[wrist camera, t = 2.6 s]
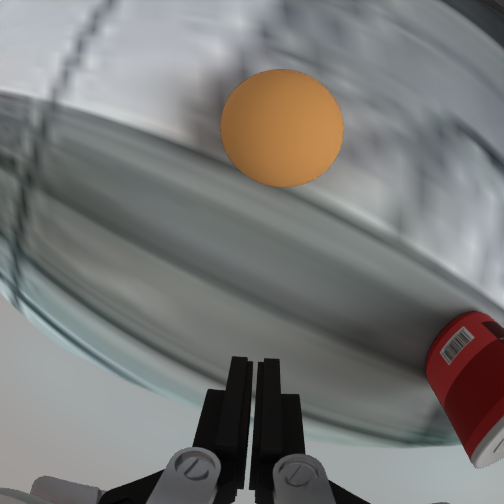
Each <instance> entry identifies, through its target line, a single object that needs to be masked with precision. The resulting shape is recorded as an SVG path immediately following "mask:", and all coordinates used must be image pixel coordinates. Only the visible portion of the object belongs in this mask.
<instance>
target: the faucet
mask: <svg viewBox="0 0 504 504" xmlns="http://www.w3.org/2000/svg"><path fill="white" fill-rule="evenodd" d="M481 1H483V2H485V3H487V4H488V5H490V6H492V7H493V8H495V9H497V10H498V11H500V12H501V13H503V14H504V0H481Z"/></svg>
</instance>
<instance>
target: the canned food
mask: <svg viewBox="0 0 504 504" xmlns="http://www.w3.org/2000/svg"><path fill="white" fill-rule="evenodd" d="M425 368H426V375H427V380H428V382H429V384H430V386H431V388H432V389H433V391H434V393H435V395H436V396H437V398H438V400H439V402H440V403H441V405H442V407H443V409H444V411H445V412H446V414H447V416H448V418H449V420H450V422H451V424H452V426H453V427H454V429H455V431H456V433H457V435H458V437H459V439H460V441H461V443H462V445H463V447H464V449H465V451H466V453H467V455H468V457H469V459H470V461H471V463H472V464H473V465H474V467H475V468H483V467H487V466H489V465H491V464H493V463H495V462H497V461H499V460H500V459H502V458H503V457H504V328H502V327H501V326H500V325H499V324H498V323H497V322H496V321H494V320H493V319H492V318H491V317H490V316H489V315H487V314H484V313H481V312H475V311H472V312H467V313H465V314H463V315H460V316H459V317H457V318H456V319H454V320H453V321H452V322H451V323H449V324H448V325H447V326H446V327H445V328H444V329H443V330H442V331H441V333H440V334H439V335H438V337H437V338H436V339H435V341H434V343H433V344H432V346H431V348H430V350H429V352H428V355H427V359H426V365H425Z"/></svg>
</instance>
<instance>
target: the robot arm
mask: <svg viewBox="0 0 504 504" xmlns="http://www.w3.org/2000/svg"><path fill="white" fill-rule="evenodd" d="M252 375H253V362H252V361H248V358H247V357H236V356H232V360H231V365H230V370H229V375H228V381H227V386H226V391H224V390H214V389H208V391H207V394H206V397H205V401H204V405H203V408H202V412H201V416H200V419H199V424H198V427H197V431H196V434H195V438H194V442H193V446H192V447H188V448H185V449H181V450H179V451H178V452H176V453H175V454H174V455H173V456H172V458H171V459H170V461H169V463H168V464H167V466H166V468H165V469H164V470H161V471H159V472H157V473H154V474H152V475H149V476H147V477H144V478H142V479H139V480H136V481H134V482H131V483H128V484H125V485H123V486H120V487H117V488H114V489H111V490H109V491H105V490H100V489H99V488H98V487H93V486H88V485H83V484H78V483H74V482H69V481H66V480H62V479H58V478H54V477H50V476H42V477H39V478H38V479H36V480H35V481H34V483H33V485H32V488H31V492H30V494H28V493H25V492H22V491H19V490H14V489H9V488H0V504H231V503H232V502H234V501H235V496H237V489H244V480H245V469H246V458H247V447H248V435H249V425H250V412H251V394H252ZM249 490H255V503H256V504H370V503H369V502H366V501H365V500H363V499H361V498H359V497H357V496H356V495H353V494H352V493H350V492H348V491H347V490H345V489H343V488H341V487H340V486H338V485H336V484H335V483H333V482H332V481H330V480H328V478H327V476H326V472H325V469H324V468H323V466H322V464H321V463H320V462H319V461H318V460H317V459H316V458H314V457H312V456H310V455H306V454H305V444H304V433H303V423H302V414H301V404H300V397H299V394H281V385H280V361H279V359H269V358H264V362H258V370H257V386H256V401H255V415H254V429H253V444H252V456H251V469H250V483H249ZM434 504H449V503H446V502H445V503H443V502H440V503H434Z"/></svg>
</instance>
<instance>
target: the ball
mask: <svg viewBox="0 0 504 504" xmlns="http://www.w3.org/2000/svg"><path fill="white" fill-rule="evenodd" d="M220 127H221V138H222V142H223V145H224V148H225V150H226V153H227V155H228V156H229V158H230V159H231V161H232V162H233V163H234V165H235V166H236V167H237V168H238V169H239V170H240V171H241V172H242V173H244V174H245V175H247V176H248V177H249V178H251V179H253V180H255V181H257V182H259V183H262V184H265V185H269V186H274V187H292V186H298V185H302V184H305V183H307V182H310V181H312V180H314V179H315V178H317V177H319V176H320V175H321V174H323V173H324V172H325V171H326V170H327V169H328V168H329V167H330V166H331V165H332V163H333V162H334V161H335V159H336V157H337V155H338V153H339V151H340V148H341V145H342V141H343V134H344V125H343V118H342V114H341V111H340V108H339V106H338V104H337V102H336V100H335V99H334V97H333V96H332V94H331V93H330V92H329V91H328V90H327V88H326V87H324V86H323V85H322V84H321V83H320V82H318V81H317V80H315V79H314V78H312V77H310V76H308V75H306V74H303V73H301V72H297V71H293V70H286V69H276V70H268V71H264V72H261V73H258V74H256V75H253V76H252V77H250V78H248V79H246V80H245V81H244V82H242V83H241V84H240V85H239V86H238V87H237V88H236V89H235V90H234V91H233V92H232V93H231V95H230V96H229V98H228V100H227V101H226V104H225V106H224V108H223V112H222V116H221V124H220Z"/></svg>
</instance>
